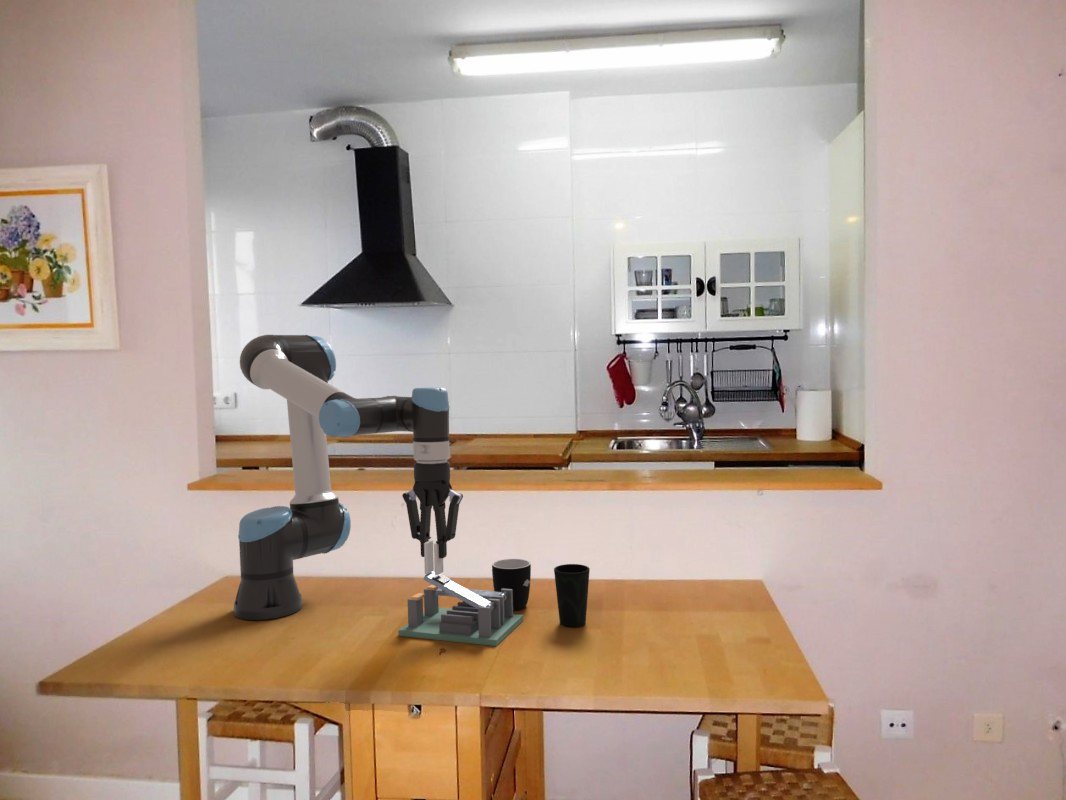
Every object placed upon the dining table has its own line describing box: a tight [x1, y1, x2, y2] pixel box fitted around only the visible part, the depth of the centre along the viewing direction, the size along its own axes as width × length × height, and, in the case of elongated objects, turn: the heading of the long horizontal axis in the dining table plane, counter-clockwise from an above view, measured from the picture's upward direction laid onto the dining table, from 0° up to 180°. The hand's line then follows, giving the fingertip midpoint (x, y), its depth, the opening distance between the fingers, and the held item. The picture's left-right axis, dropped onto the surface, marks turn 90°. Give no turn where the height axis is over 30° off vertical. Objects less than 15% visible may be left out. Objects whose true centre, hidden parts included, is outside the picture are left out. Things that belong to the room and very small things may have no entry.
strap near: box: [423, 571, 496, 611], centre depth 159 cm, size 16×4×2 cm, turn 70°
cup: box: [553, 563, 591, 629], centre depth 165 cm, size 8×8×12 cm
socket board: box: [397, 584, 524, 647], centre depth 163 cm, size 22×16×8 cm
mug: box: [491, 558, 532, 612], centre depth 179 cm, size 12×9×10 cm
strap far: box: [436, 587, 509, 601], centre depth 166 cm, size 16×4×2 cm, turn 71°
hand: (434, 572), depth 160 cm, fingers closed
